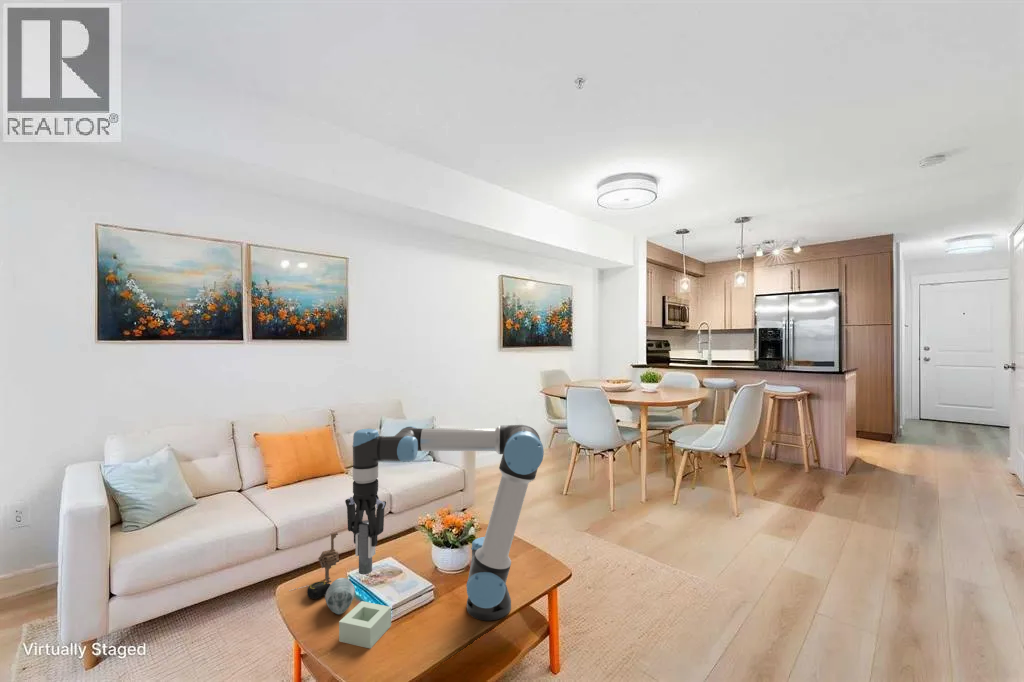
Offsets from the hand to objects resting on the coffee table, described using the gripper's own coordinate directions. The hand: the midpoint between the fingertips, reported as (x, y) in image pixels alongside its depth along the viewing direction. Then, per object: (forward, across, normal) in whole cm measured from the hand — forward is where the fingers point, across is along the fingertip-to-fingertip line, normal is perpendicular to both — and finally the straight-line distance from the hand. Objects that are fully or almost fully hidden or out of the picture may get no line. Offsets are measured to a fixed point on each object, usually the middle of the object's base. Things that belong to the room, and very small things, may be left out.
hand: (365, 554), depth 137 cm
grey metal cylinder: (+5, 0, 0) cm, 5 cm away
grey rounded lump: (+25, +15, -7) cm, 30 cm away
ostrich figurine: (+25, +35, -18) cm, 46 cm away
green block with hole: (+24, 0, 0) cm, 24 cm away
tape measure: (+24, +26, -10) cm, 37 cm away
